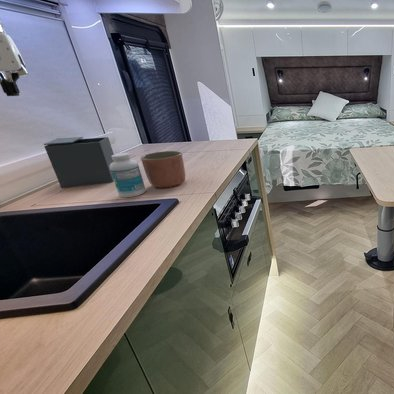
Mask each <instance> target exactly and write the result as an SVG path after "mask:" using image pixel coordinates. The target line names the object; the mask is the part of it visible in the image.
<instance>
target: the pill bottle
mask: <svg viewBox="0 0 394 394" xmlns="http://www.w3.org/2000/svg"><path fill="white" fill-rule="evenodd" d="M113 154H114V153H113ZM131 157H132V156H131V154H130V153H129V152H119V153H115V154H114V155H112V159H113V160H114V162H112V163H111V164H110V166H109V167H110V170H111V173H112V176H113V179H114V181H113V183H114V184H115V188H116V190H117V194H118V196H119V197H121V198H133V197H137V196H140V195H142V194H144V193H145V192H146V190H147V189H146V186H145V183H144V179H143V176H142V173H141V169H140V166H139V162H138V161H137V160H135V159H131Z"/></svg>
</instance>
